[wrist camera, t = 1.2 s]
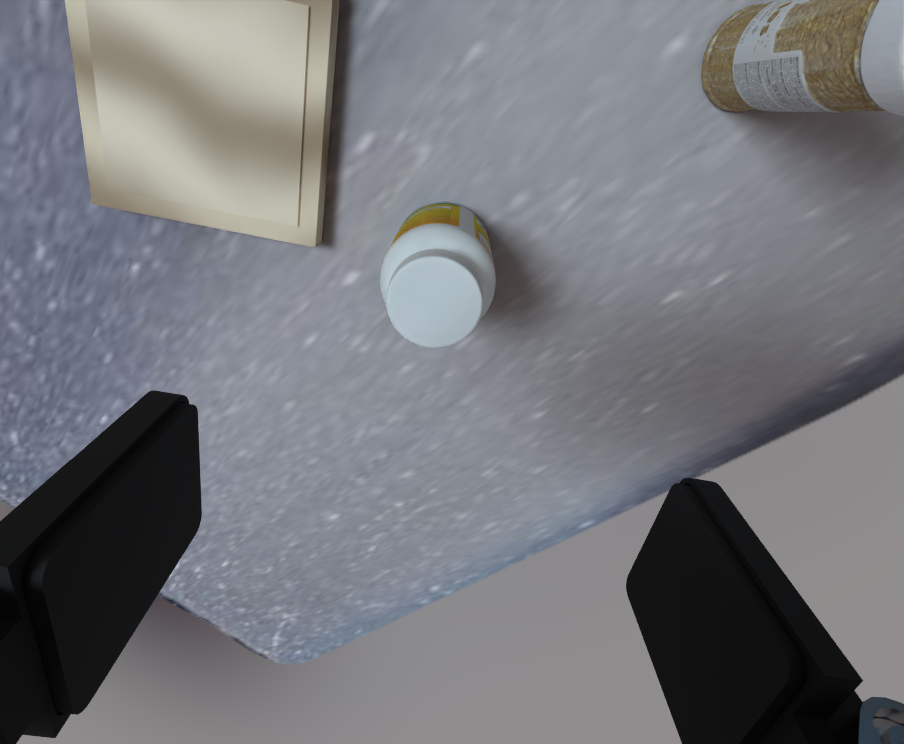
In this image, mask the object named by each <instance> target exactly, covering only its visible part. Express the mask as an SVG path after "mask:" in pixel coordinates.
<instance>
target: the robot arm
mask: <svg viewBox="0 0 904 744" xmlns="http://www.w3.org/2000/svg"><path fill="white" fill-rule="evenodd" d="M201 515H202V510H201V484H200V458H199V432H198V411H197V408H196V406H195V405H191V404H189V401H188V399H187V397H186V396H184V395H178V394H172V393H166V392H160V391H150V392H148V393H147V394H146V395H145V396H143V397H142V398H141V399H140V400H139V401H138V402H137V403H135V404H134V405H133V406H132V407H131V408H130V409H129V410H127V411H126V412H125V413H124V414H123V415H122V416H121V417H119V418H118V419H117V420H116V421H115V422H114V423H113V424H111V425H110V426H109V427H108V428H107V429H106V430H105V431H103V432H102V433H101V434H100V435H99V436H98V437H97V438H95V439H94V440H93V441H92V442H91V443H90V444H89V445H87V446H86V447H85V448H84V449H83V450H82V451H81V452H79V453H78V454H77V455H76V456H75V457H74V458H73V459H71V460H70V461H69V462H68V463H66V464H65V465H64V466H63V467H62V468H61V469H60V470H58V471H57V472H56V473H55V474H54V475H53V476H52V477H50V478H49V479H48V480H47V481H46V482H45V483H44V484H42V485H41V486H40V487H39V488H38V489H37V490H36V491H34V492H33V493H32V494H31V495H30V496H29V497H28V498H26V499H25V500H24V501H23V502H22V503H21V504H20V505H18V506H17V507H16V508H15V509H14V510H13V511H12V512H11V513H9V514H8V515H7V516H6V517H5V518H4V519H2V520H1V521H0V744H16V743H17V742H18V740H19V739H20V737H21V736H22V735H31V736H41V737H50V738H55V737H56V736H57V734H58V733H59V731H60V730H61V728H62V727H63V725H64V724H65V722H66V721H67V719H68V717H69V716H70V714H79V713H81V712H82V711H83V710H84V709H85V708H86V707H87V705H88V704H89V703H90V701H91V699H92V698H93V696H94V695H95V693H96V692H97V690H98V688H99V687H100V685H101V684H102V682H103V680H104V679H105V677H106V676H107V674H108V672H109V671H110V669H111V668H112V666H113V665H114V663H115V662H116V660H117V658H118V657H119V655H120V654H121V652H122V650H123V649H124V647H125V646H126V644H127V642H128V641H129V639H130V638H131V636H132V635H133V633H134V631H135V630H136V628H137V627H138V625H139V623H140V622H141V620H142V619H143V617H144V615H145V614H146V612H147V611H148V609H149V608H150V606H151V604H152V603H153V601H154V600H155V598H156V596H157V595H158V593H159V592H160V590H161V589H162V587H163V585H164V584H165V582H166V581H167V579H168V577H169V576H170V574H171V573H172V571H173V569H174V568H175V566H176V565H177V563H178V562H179V560H180V558H181V557H182V555H183V554H184V552H185V550H186V549H187V547H188V546H189V544H190V542H191V541H192V539H193V538H194V536H195V534H196V533H197V531H198V528H199V525H200V522H201ZM626 589H627V595H628V598H629V601H630V603H631V606H632V609H633V611H634V614H635V617H636V619H637V622H638V625H639V628H640V630H641V633H642V636H643V639H644V641H645V644H646V646H647V649H648V652H649V655H650V658H651V660H652V663H653V666H654V668H655V671H656V674H657V677H658V679H659V682H660V685H661V687H662V690H663V693H664V696H665V698H666V701H667V704H668V707H669V709H670V712H671V715H672V717H673V720H674V723H675V725H676V728H677V731H678V734H679V736H680V739H681V742H682V744H904V704H902V703H900V702H897V701H894V700H891V699H888V698H883V697H882V698H881V697H871V698H869V699H867V700H866V701H863V702H862V701H861V699H860V698H859V697H858V695H857V694H856V692H855V691H854V690H855V689H856V688H857V687H858V686H859V684H860V683H861V682H862V681H863V680H862V679H861V677H860V676H859V675H858V673H857V672H856V671H855V669H854V668H853V667H852V665H851V664H850V662H849V661H848V660H847V658H846V657H845V655H844V654H843V653H842V651H841V650H840V649H839V647H838V646H837V645H836V643H835V642H834V640H833V639H832V638H831V636H830V635H829V634H828V632H827V631H826V630H825V628H824V627H823V626H822V624H821V623H820V622H819V620H818V619H817V617H816V616H815V615H814V613H813V612H812V610H811V609H810V608H809V606H808V605H807V604H806V603H805V601H804V600H803V598H802V597H801V596H800V594H799V593H798V591H797V590H796V589H795V587H794V586H793V585H792V583H791V582H790V581H789V579H788V578H787V576H786V575H785V574H784V572H783V571H782V570H781V568H780V567H779V566H778V564H777V563H776V561H775V560H774V559H773V558H772V556H771V555H770V553H769V552H768V551H767V549H766V548H765V546H764V545H763V544H762V543H761V541H760V540H759V538H758V537H757V536H756V534H755V533H754V532H753V530H752V529H751V528H750V526H749V525H748V523H747V522H746V521H745V519H744V518H743V517H742V515H741V514H740V512H739V511H738V510H737V508H736V507H735V506H734V504H733V503H732V502H731V500H730V499H729V497H728V496H727V495H726V493H725V492H724V491H723V489H722V488H721V487H720V486H719V485H718V484H717V483H715V482H711V481H705V480H699V479H693V478H684V479H683V480H682V481H681V482H680V483H677V484H674V485H673V486H672V487H671V489H670V491H669V493H668V495H667V497H666V499H665V501H664V503H663V505H662V507H661V509H660V511H659V513H658V515H657V518H656V519H655V522H654V524H653V526H652V528H651V530H650V532H649V534H648V536H647V538H646V540H645V542H644V544H643V546H642V548H641V550H640V552H639V554H638V556H637V559H636V560H635V562H634V564H633V567H632V569H631V571H630V573H629V575H628V578H627V584H626Z"/></svg>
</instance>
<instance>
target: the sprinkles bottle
mask: <svg viewBox="0 0 904 744" xmlns="http://www.w3.org/2000/svg"><path fill="white" fill-rule="evenodd" d="M702 84H703V88H704V90H705V92H706V93H707V95H708V97H709V99H710V100H711V101H712V102H713V103H714V104H715V105H716V106H718V107H719V108H721V109H723V110H726V111H733V112H742V111H749V110H752V109H759V110H763V111H778V112H852V111H882V110H886V111H888V112H890V113H893V114H896V115H899V116H904V0H776V1H774V2H770V3H768V4H758V5H752V6H749V7H746V8H744V9H742V10H740V11H738V12H736V13H734V14H733V15H732V16H731V17H730V18H728V19H727V20H726V21H725V22H724V23H723V24H722V25H721V26H720V27H719V29H718V30H717V31H716V33H715V34H714V35H713V37H712V39H711V40H710V41H709V43H708V46H707V49H706V52H705V54H704V57H703V64H702Z"/></svg>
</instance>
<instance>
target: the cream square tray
mask: <svg viewBox="0 0 904 744" xmlns="http://www.w3.org/2000/svg"><path fill="white" fill-rule="evenodd" d="M65 4H66V12H67V19H68V27H69V34H70V42H71V49H72V57H73V64H74V72H75V79H76V86H77V94H78V101H79V109H80V116H81V124H82V131H83V139H84V146H85V154H86V161H87V169H88V176H89V184H90V191H91V199H92V204H95V205H100V206H105V207H110V208H115V209H120V210H126V211H131V212H136V213H141V214H146V215H151V216H156V217H161V218H166V219H172V220H177V221H182V222H187V223H192V224H197V225H202V226H207V227H212V228H218V229H223V230H228V231H233V232H238V233H243V234H248V235H253V236H258V237H264V238H269V239H274V240H279V241H284V242H289V243H294V244H299V245H304V246H310V247H316V246H317V245H319V244H320V243H321V242H322V232H323V219H324V205H325V192H326V178H327V165H328V152H329V138H330V125H331V111H332V98H333V84H334V71H335V58H336V44H337V31H338V17H339V4H340V0H65Z"/></svg>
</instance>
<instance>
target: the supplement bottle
mask: <svg viewBox="0 0 904 744" xmlns="http://www.w3.org/2000/svg"><path fill="white" fill-rule="evenodd" d="M380 285H381V292H382V296H383V299H384V301H385V304H386V306H387V311H388V315H389V318H390V320H391V322H392V323H393V325H394V327H395V328H396V329H397V331H398V332H399V333H400V334H401V335H402V336H403V337H405V338H406V339H408V340H409V341H411V342H413V343H415V344H417V345H420V346H424V347H430V348H440V347H447V346H450V345H453V344H456V343H458V342H459V341H461V340H463V339H464V338H465V337H467V336H468V335H469V334H470V333H471V332H472V331H473V329H474V328H475V326H476V325H477V323H478V321H479V320H480V319H481V318H482V317H483V316H484V315H485V313H486V312H487V310H488V309H489V307H490V305H491V302H492V300H493V297H494V293H495V286H496V275H495V267H494V262H493V257H492V252H491V246H490V242H489V238H488V234H487V232H486V229H485V227H484V226H483V224H482V222H481V221H480V220H479V218H478V217H477V216H476V215H475V214H474V213H473V212H471V211H470V210H468V209H467V208H465V207H463V206H461V205H458V204H455V203H450V202H438V203H432V204H428V205H425V206H423V207H421V208H419V209H417V210H416V211H414V212H413V213H412V214H411V215H410V216H409V217H408V218H407V219H406V220H405V222H404V223H403V224H402V226H401V228H400V230H399V232H398V233H397V235H396V237H395V239H394V241H393V243H392V245H391V246H390V248H389V250H388V252H387V254H386V256H385V258H384V261H383V264H382V268H381V274H380Z"/></svg>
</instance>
